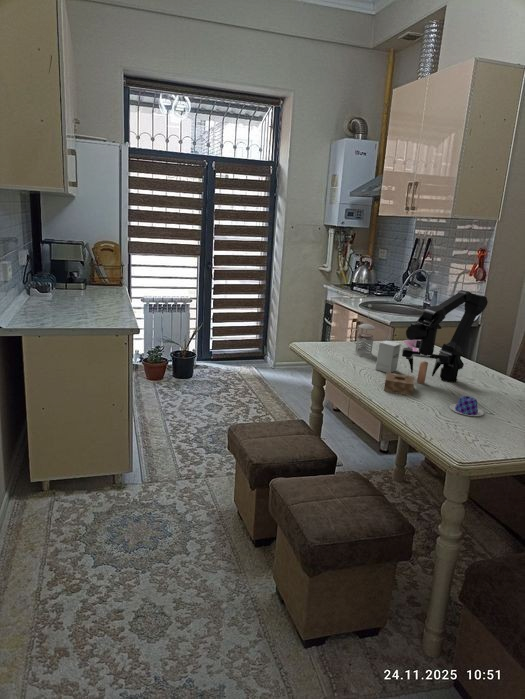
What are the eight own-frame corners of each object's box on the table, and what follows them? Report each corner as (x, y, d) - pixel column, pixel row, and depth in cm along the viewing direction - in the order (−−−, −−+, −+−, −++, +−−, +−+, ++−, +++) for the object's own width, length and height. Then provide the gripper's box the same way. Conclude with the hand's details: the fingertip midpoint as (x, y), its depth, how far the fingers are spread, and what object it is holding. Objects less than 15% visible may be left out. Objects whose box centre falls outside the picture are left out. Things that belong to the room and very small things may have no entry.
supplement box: (390, 373, 237) (394, 346, 233) (374, 369, 241) (378, 342, 238) (397, 370, 242) (401, 343, 239) (381, 366, 247) (386, 339, 243)
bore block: (412, 387, 221) (413, 376, 220) (412, 395, 210) (414, 384, 209) (385, 382, 223) (386, 372, 222) (383, 390, 213) (385, 380, 212)
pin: (424, 382, 229) (428, 361, 227) (424, 384, 226) (428, 363, 224) (416, 380, 230) (420, 360, 227) (416, 383, 227) (420, 362, 224)
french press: (373, 358, 260) (380, 307, 253) (349, 354, 262) (355, 304, 255) (373, 353, 269) (380, 303, 262) (350, 349, 271) (356, 301, 264)
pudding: (454, 403, 207) (456, 390, 206) (486, 411, 201) (489, 398, 199) (445, 411, 197) (447, 397, 196) (478, 420, 191) (481, 407, 190)
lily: (400, 351, 282) (398, 337, 276) (420, 343, 282) (419, 329, 277) (410, 364, 272) (409, 350, 266) (432, 356, 273) (431, 342, 267)
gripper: (450, 338, 228) (443, 373, 232) (405, 331, 233) (400, 366, 237) (452, 344, 218) (445, 380, 222) (405, 337, 222) (399, 373, 226)
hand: (422, 374), depth 227 cm, fingers open, 8 cm apart
